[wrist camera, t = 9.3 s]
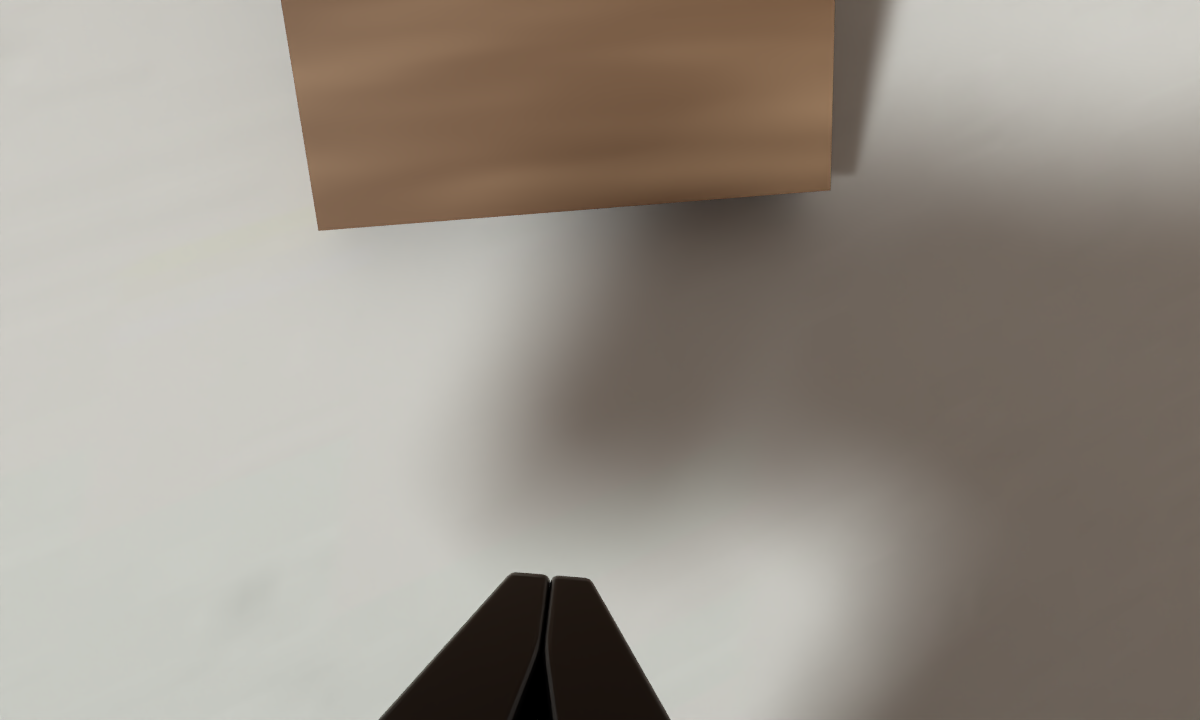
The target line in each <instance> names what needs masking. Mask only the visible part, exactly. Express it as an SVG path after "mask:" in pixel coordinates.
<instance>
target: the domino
mask: <svg viewBox="0 0 1200 720" xmlns="http://www.w3.org/2000/svg"><path fill="white" fill-rule="evenodd" d="M281 4H282V10H283V16H284V22H285V28H286V34H287V40H288V46H289V53H290V59H291V65H292V71H293V77H294V83H295V89H296V95H297V102H298V108H299V114H300V120H301V126H302V132H303V138H304V144H305V151H306V157H307V163H308V169H309V175H310V181H311V187H312V193H313V200H314V206H315V212H316V218H317V224H318V230H319V231H321V230H333V229H346V228H359V227H371V226H384V225H396V224H409V223H422V222H434V221H447V220H460V219H472V218H485V217H498V216H510V215H523V214H536V213H548V212H561V211H574V210H586V209H599V208H612V207H624V206H637V205H650V204H662V203H675V202H688V201H700V200H713V199H726V198H738V197H751V196H764V195H776V194H789V193H801V192H814V191H827V190H830V187H831V145H832V103H833V61H834V19H835V0H281Z"/></svg>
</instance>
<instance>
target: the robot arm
mask: <svg viewBox="0 0 1200 720" xmlns="http://www.w3.org/2000/svg"><path fill="white" fill-rule="evenodd" d="M379 720H670V718H669V716H668V714H667V713H666V711H665V709H664V707H663V705H662V704H661V702H660V700H659V698H658V697H657V695H656V693H655V691H654V690H653V688H652V686H651V684H650V683H649V681H648V679H647V677H646V676H645V674H644V672H643V670H642V668H641V667H640V665H639V663H638V661H637V660H636V658H635V656H634V654H633V653H632V651H631V649H630V647H629V646H628V644H627V642H626V640H625V639H624V637H623V635H622V633H621V631H620V630H619V628H618V626H617V624H616V623H615V621H614V619H613V617H612V616H611V614H610V612H609V610H608V609H607V607H606V605H605V603H604V602H603V600H602V598H601V596H600V594H599V593H598V591H597V589H596V587H595V586H594V584H593V583H592V581H591V580H589V579H587V578H580V577H568V576H555V577H553V578H552V580H551V583H550V580H549V578H548V577H547V576H546V575H543V574H531V573H518V572H514V573H511V574H510V575H508V576H507V577H506V578H505V580H504V581H503V582H502V583H501V584H500V585H499V586H498V587H497V588H496V590H495V591H494V592H493V593H492V594H491V595H490V596H489V597H488V599H487V600H486V601H485V602H484V603H483V604H482V605H481V606H480V607H479V609H478V610H477V611H476V612H475V613H474V614H473V615H472V616H471V617H470V619H469V620H468V621H467V622H466V623H465V624H464V625H463V626H462V627H461V629H460V630H459V631H458V632H457V633H456V634H455V635H454V636H453V637H452V639H451V640H450V641H449V642H448V643H447V644H446V645H445V646H444V647H443V649H442V650H441V651H440V652H439V653H438V654H437V655H436V656H435V657H434V659H433V660H432V661H431V662H430V663H429V664H428V665H427V666H426V667H425V669H424V670H423V671H422V672H421V673H420V674H419V675H418V676H417V677H416V679H415V680H414V681H413V682H412V683H411V684H410V685H409V686H408V688H407V689H406V690H405V691H404V692H403V693H402V694H401V695H400V696H399V698H398V699H397V700H396V701H395V702H394V703H393V704H392V705H391V706H390V708H389V709H388V710H387V711H386V712H385V713H384V714H383V715H382V716H381V718H380V719H379Z"/></svg>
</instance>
